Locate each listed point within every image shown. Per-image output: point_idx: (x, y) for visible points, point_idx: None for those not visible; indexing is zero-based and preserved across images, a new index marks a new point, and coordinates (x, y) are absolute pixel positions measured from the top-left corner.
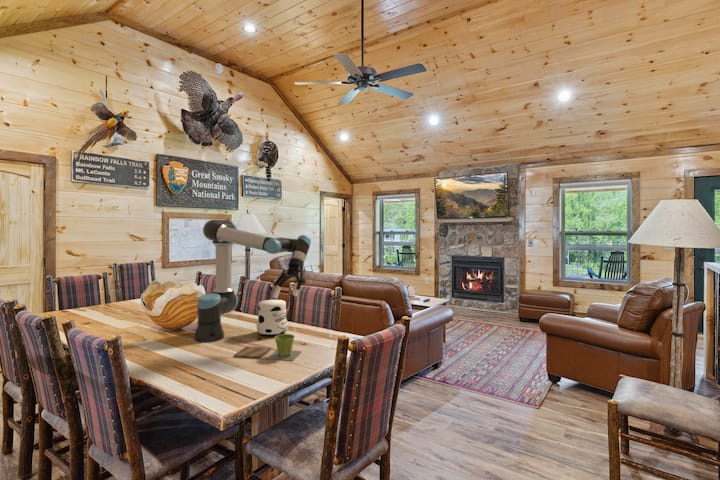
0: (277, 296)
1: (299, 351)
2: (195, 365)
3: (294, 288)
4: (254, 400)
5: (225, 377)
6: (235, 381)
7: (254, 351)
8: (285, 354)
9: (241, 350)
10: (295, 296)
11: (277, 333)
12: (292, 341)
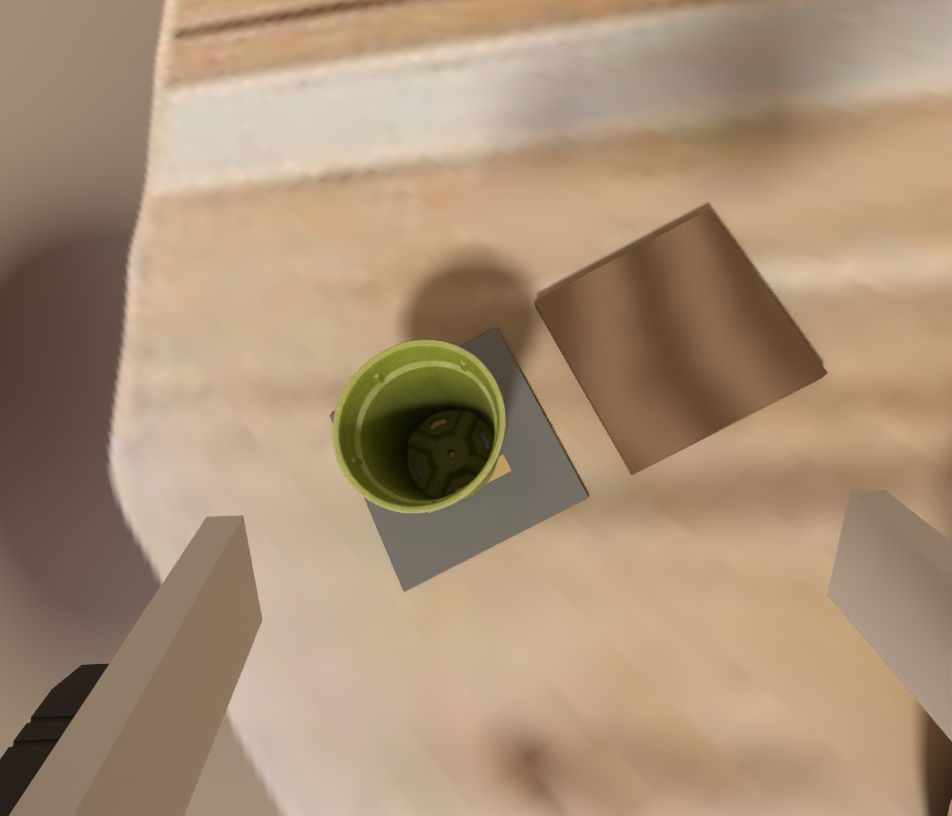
0: (864, 620)
1: (417, 576)
2: (753, 10)
3: (168, 615)
4: (173, 29)
5: (457, 48)
6: (377, 58)
7: (659, 339)
8: (411, 423)
9: (759, 292)
10: (256, 611)
11: (949, 810)
12: (356, 455)
